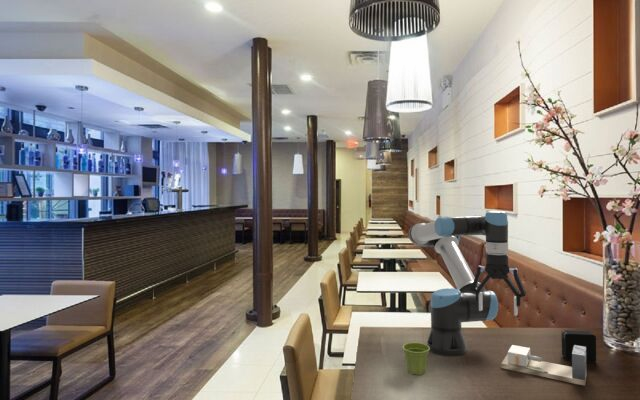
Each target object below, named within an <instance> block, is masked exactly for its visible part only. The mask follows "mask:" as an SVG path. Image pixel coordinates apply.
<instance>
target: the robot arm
mask: <svg viewBox="0 0 640 400" xmlns="http://www.w3.org/2000/svg"><path fill="white" fill-rule="evenodd" d="M461 236H485V252H486V254H485V262H486V263H485V266H482V265H478V266H477V267H476V275H474V273H473V272H472V270H471V268H470V266H469V264H468V262H467V261H466V259H465V257H464V255H463V253H462V250H460V248H459V245H460V244H459V243H460V241H461ZM408 237H409V238H408V239H409V240H410V241H411V243H412V244H414V245H415V246H417V247H423V248H429V247H433V249H434V251H435V253H437V254H440V256H441V258H442V259H443V261H444V264H445V266H446V268H447V270H448V271H449V274H450V276H451V278H452V280H453V282H454V284H455V286H456V288H441V289H437V290H435V291H433V292H432V293H431V295H430V303H429V305H430V306H429V307H430V332H429V335H428V337H427V341H426V345H428V346H429V347H430V350H429V351H430V352H431V353H433V354H436V355H439V356H440V355H441V356H447V357H457V356H462V355H464V354H466V353H467V342H466V340H465V338H464V334H463V331H462V324H463V323H472V322H487V321H493V320H494V319H495V318H496V317H497V315H498V312H499V301H498V297H497V294H496V293H495V292H494V291H492V290H490V289H489V290H487V289H486V288H485V285H486V284H487V283H488V282H489V280H490V279H493V280H495V279H496V280H503V281H504V282H505V284H506V285H507V286H508V287H509V289H510V290H511V292H512V293H513V294H514V297H513V317H514V316H515V317H517V316H518V312H519V311H518V307H521V303H522V300H521V299H522V298H523V297H525V296H527V292H526V289H525V286H524V284H523V282H522V280H521V277H520V275H519V269H518V268H517V267H515V268H510V266H509V255H508V253H509V221H508V213H507V212H505V211H498V210H497V211H487V212H485V215H482V214H479V215H478V214H475V215H469V216H468V215H466V216H440V217H437V218H436V220H435V221H434V220H433V221H431V222H420V223H419V222H418V223H416V224H414V225H412V226H411V227H410V228H409V230H408ZM484 271H485V272H486V273H487V275H486V276H485V278H484V279H483V281H482V282H479V281H480V278H481V275H482V273H483V272H484ZM509 273H511V275H513V278H514V281H515V283H516V285H517V287H518V288H517V287H516V286H515V284H514V283H513V282H512V280H511V278H510V276H509V275H508V274H509Z"/></svg>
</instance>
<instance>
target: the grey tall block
mask: <svg viewBox="0 0 640 400" xmlns="http://www.w3.org/2000/svg"><path fill="white" fill-rule="evenodd" d="M571 367H572V378H575V379H580V380H585V378H586V379H587V375H586V370H587V362H586V347H584V346H578V345H574V347H573V351H572V361H571Z"/></svg>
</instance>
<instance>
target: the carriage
mask: <svg viewBox="0 0 640 400" xmlns="http://www.w3.org/2000/svg"><path fill="white" fill-rule="evenodd" d="M507 354H508V363H510V364H515V365H520V366H525V367H527V365H528V363H529V361H530V360H533V361H538V362H541V361H543V360H542V356H541V357H540V356H537V355H531V347H526V346H521V345H516V344H512V345H511V346H510V347H509V349H508V351H507Z"/></svg>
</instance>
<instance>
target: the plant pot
mask: <svg viewBox="0 0 640 400" xmlns="http://www.w3.org/2000/svg"><path fill="white" fill-rule="evenodd" d="M402 349H403V352H404V354H405V355H404V356H405V362H406V368H407V372H408V373H410V374H411V375H416V376H421V375H424V374H425V373H426V371H427V364H428V363H427V362H428V355H429V350H430V347H429V346H428V345H427V343H426V344H425V343H421V342H408V343H404V344H403V345H402Z"/></svg>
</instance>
